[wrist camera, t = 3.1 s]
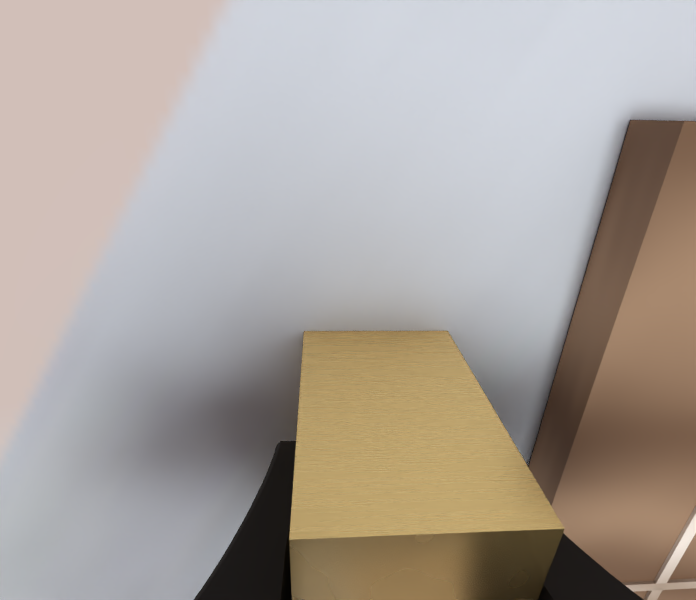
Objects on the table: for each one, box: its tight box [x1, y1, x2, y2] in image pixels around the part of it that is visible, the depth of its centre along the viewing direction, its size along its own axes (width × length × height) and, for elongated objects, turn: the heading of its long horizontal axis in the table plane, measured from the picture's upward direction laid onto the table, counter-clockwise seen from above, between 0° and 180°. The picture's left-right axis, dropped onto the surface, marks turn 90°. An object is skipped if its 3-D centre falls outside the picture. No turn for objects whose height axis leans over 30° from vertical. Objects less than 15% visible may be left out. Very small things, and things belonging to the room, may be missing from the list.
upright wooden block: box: [289, 331, 565, 600], centre depth 10 cm, size 7×4×6 cm, turn 178°
